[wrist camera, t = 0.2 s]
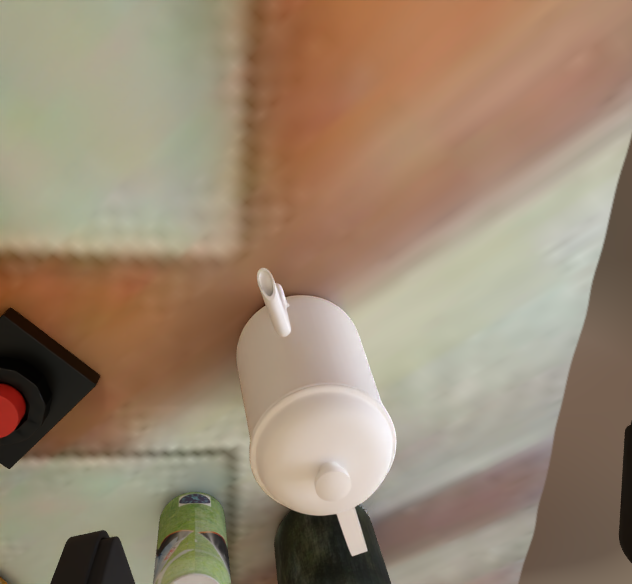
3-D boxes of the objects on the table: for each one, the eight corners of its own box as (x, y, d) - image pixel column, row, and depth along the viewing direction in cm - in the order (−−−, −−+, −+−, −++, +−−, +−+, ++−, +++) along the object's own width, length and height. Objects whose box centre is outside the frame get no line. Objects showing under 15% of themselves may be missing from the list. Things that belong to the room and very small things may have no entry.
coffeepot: (316, 190, 45) (370, 248, 27) (386, 438, 53) (461, 604, 36) (187, 230, 44) (156, 316, 27) (279, 474, 53) (302, 659, 35)
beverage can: (154, 532, 53) (132, 648, 42) (173, 469, 51) (156, 573, 40) (218, 543, 55) (214, 657, 43) (238, 482, 53) (240, 585, 41)
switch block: (16, 457, 49) (0, 483, 45) (-77, 396, 46) (-101, 419, 42) (101, 375, 47) (91, 396, 44) (11, 306, 44) (-7, 323, 41)
